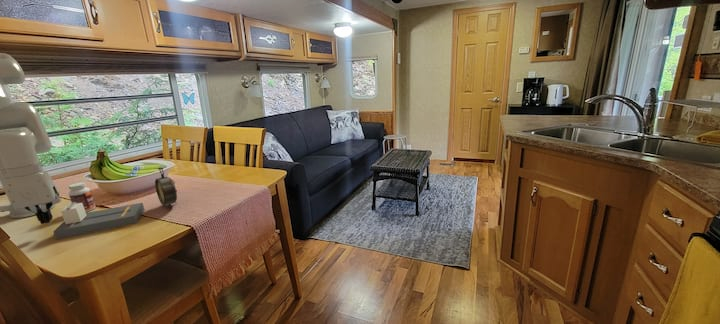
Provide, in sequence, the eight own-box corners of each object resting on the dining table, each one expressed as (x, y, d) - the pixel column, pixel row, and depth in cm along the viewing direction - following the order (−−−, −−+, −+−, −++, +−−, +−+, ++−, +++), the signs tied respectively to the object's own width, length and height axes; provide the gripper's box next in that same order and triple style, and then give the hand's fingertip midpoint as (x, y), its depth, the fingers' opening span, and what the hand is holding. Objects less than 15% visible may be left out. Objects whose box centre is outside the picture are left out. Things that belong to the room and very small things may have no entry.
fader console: (56, 239, 96) (53, 231, 96) (72, 223, 107) (69, 215, 106) (136, 223, 105) (134, 215, 104) (144, 209, 115) (142, 202, 114)
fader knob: (65, 224, 99) (59, 209, 98) (72, 218, 104) (66, 203, 102) (80, 221, 101) (75, 206, 99) (86, 215, 105) (81, 201, 103)
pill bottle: (94, 210, 117) (85, 184, 113) (74, 215, 113) (63, 188, 110) (97, 205, 122) (88, 180, 118) (77, 209, 118) (67, 184, 115)
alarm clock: (159, 204, 120) (148, 166, 115) (173, 199, 123) (164, 162, 118) (167, 212, 112) (156, 172, 107) (182, 206, 116) (172, 168, 111)
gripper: (-16, 178, 87) (9, 232, 93) (50, 169, 93) (70, 221, 99) (0, 171, 94) (23, 222, 99) (61, 163, 99) (79, 212, 105)
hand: (46, 221), depth 99 cm, fingers closed
